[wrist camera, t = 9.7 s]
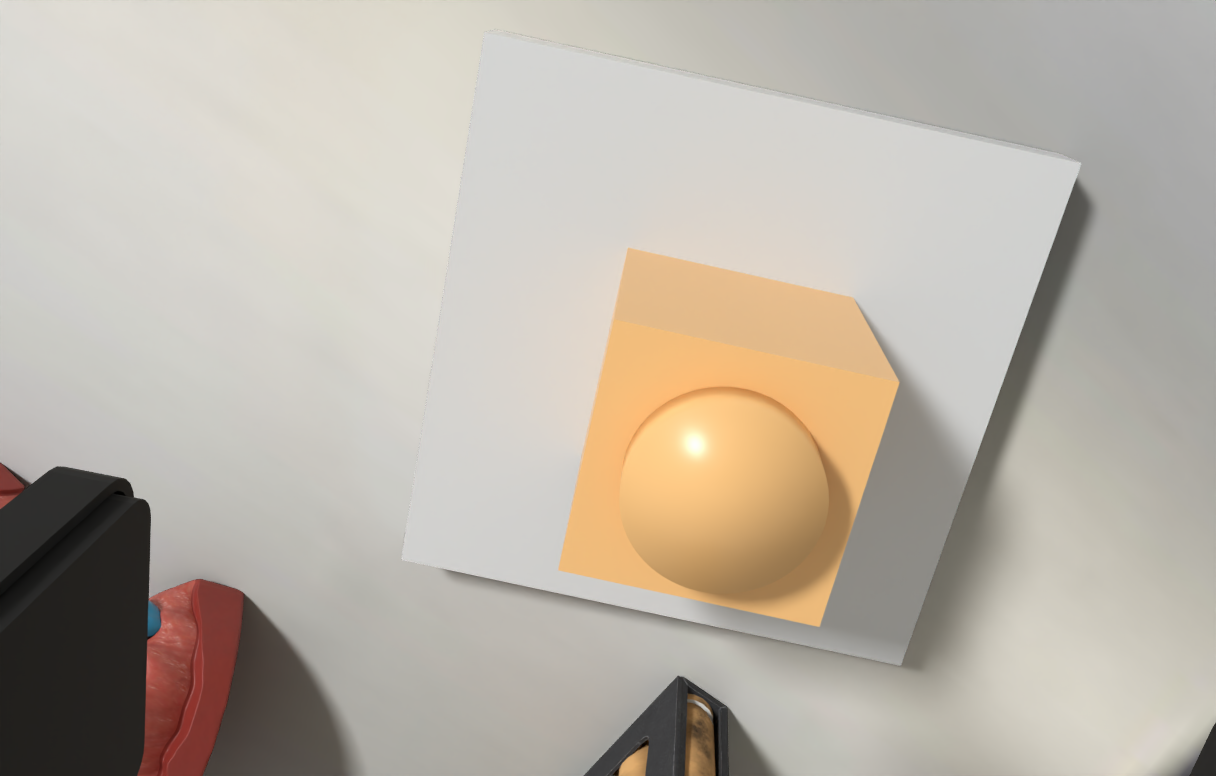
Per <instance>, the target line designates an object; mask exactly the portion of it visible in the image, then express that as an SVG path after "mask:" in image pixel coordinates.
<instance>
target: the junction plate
mask: <svg viewBox="0 0 1216 776" xmlns="http://www.w3.org/2000/svg"><path fill="white" fill-rule="evenodd" d="M1081 164H1082V163H1080V162H1078V161H1075V160H1073V159H1071V158H1069V157H1067V156H1064V155H1062V154H1060V153H1055V152H1051V151H1046V150H1041V149H1037V148H1032V147H1028V146H1023V145H1019V144H1014V143H1010V142H1005V141H1001V140H996V139H991V138H987V137H982V136H978V135H973V134H969V133H964V132H960V131H955V130H951V129H946V128H941V127H937V126H932V125H928V124H923V123H919V122H914V121H910V120H905V119H901V118H896V117H891V116H887V115H882V114H878V113H873V112H869V111H864V110H860V109H855V108H851V107H846V106H841V105H837V104H832V103H828V102H823V101H819V100H814V99H810V98H805V97H801V96H796V95H791V94H787V93H782V92H778V91H773V90H769V89H764V88H760V87H755V86H751V85H746V84H741V83H737V82H732V81H728V80H723V79H719V78H714V77H710V76H705V75H701V74H696V73H691V72H687V71H682V70H678V69H673V68H669V67H664V66H660V65H655V64H651V63H646V62H641V61H637V60H632V59H628V58H623V57H619V56H614V55H610V54H605V53H601V52H596V51H592V50H587V49H582V48H578V47H573V46H569V45H564V44H560V43H555V42H551V41H546V40H542V39H537V38H532V37H528V36H523V35H519V34H514V33H510V32H505V31H501V30H496V29H494V30H490V31H486V32H484V38H483V44H482V50H481V57H480V63H479V69H478V76H477V82H476V88H475V95H474V101H473V107H472V114H471V120H470V126H469V133H468V139H467V145H466V152H465V158H464V164H463V171H462V177H461V183H460V190H459V196H458V202H457V209H456V215H455V221H454V228H453V234H452V240H451V247H450V253H449V259H448V266H447V272H446V278H445V285H444V291H443V297H442V304H441V310H440V316H439V323H438V329H437V335H436V342H435V348H434V354H433V361H432V367H431V373H430V380H429V386H428V392H427V399H426V405H425V411H424V418H423V424H422V430H421V437H420V443H419V449H418V456H417V462H416V468H415V475H414V481H413V487H412V494H411V500H410V506H409V513H408V519H407V525H406V532H405V538H404V544H403V551H402V557H401V560H404V561H409V562H414V563H419V564H423V565H428V566H433V567H437V568H442V569H447V570H451V571H456V572H461V573H466V574H470V575H475V576H480V577H484V578H489V579H494V580H498V581H503V582H508V583H513V584H517V585H522V586H527V587H531V588H536V589H541V590H546V591H550V592H555V593H560V594H564V595H569V596H574V597H578V598H583V599H588V600H593V601H597V602H602V603H607V604H611V605H616V606H621V607H626V608H630V609H635V610H640V611H644V612H649V613H654V614H658V615H663V616H668V617H673V618H677V619H682V620H687V621H691V622H696V623H701V624H706V625H710V626H715V627H720V628H724V629H729V630H734V631H738V632H743V633H748V634H753V635H757V636H762V637H767V638H771V639H776V640H781V641H786V642H790V643H795V644H800V645H804V646H809V647H814V648H818V649H823V650H828V651H833V652H837V653H842V654H847V655H851V656H856V657H861V658H866V659H870V660H875V661H880V662H884V663H889V664H894V665H898V666H901V664H902V661H903V659H904V656H905V653H906V650H907V647H908V645H909V642H910V639H911V636H912V634H913V631H914V628H915V625H916V622H917V620H918V617H919V614H920V611H921V609H922V606H923V603H924V600H925V597H926V595H927V592H928V589H929V586H930V584H931V581H932V578H933V575H934V572H935V570H936V567H937V564H938V561H939V558H940V556H941V553H942V550H943V547H944V545H945V542H946V539H947V536H948V533H949V531H950V528H951V525H952V522H953V520H954V517H955V514H956V511H957V508H958V506H959V503H960V500H961V497H962V495H963V492H964V489H965V486H966V483H967V481H968V478H969V475H970V472H971V469H972V467H973V464H974V461H975V458H976V456H977V453H978V450H979V447H980V444H981V442H982V439H983V436H984V433H985V431H986V428H987V425H988V422H989V419H990V417H991V414H992V411H993V408H994V406H995V403H996V400H997V397H998V394H999V392H1000V389H1001V386H1002V383H1003V380H1004V378H1005V375H1006V372H1007V369H1008V367H1009V364H1010V361H1011V358H1012V355H1013V353H1014V350H1015V347H1016V344H1017V342H1018V339H1019V336H1020V333H1021V330H1022V328H1023V325H1024V322H1025V319H1026V317H1027V314H1028V311H1029V308H1030V305H1031V303H1032V300H1033V297H1034V294H1035V291H1036V289H1037V286H1038V283H1039V280H1040V278H1041V275H1042V272H1043V269H1044V266H1045V264H1046V261H1047V258H1048V255H1049V253H1050V250H1051V247H1052V244H1053V241H1054V239H1055V236H1056V233H1057V230H1058V227H1059V225H1060V222H1061V219H1062V216H1063V214H1064V211H1065V208H1066V205H1067V202H1068V200H1069V197H1070V194H1071V191H1072V189H1073V186H1074V183H1075V180H1076V177H1077V175H1078V172H1079V169H1080V166H1081ZM628 248H632V249H637V250H641V251H646V252H650V253H655V254H659V255H664V256H668V257H673V258H677V259H682V260H686V261H691V262H695V263H700V264H704V265H709V266H713V267H718V268H722V269H727V270H731V271H736V272H740V273H745V274H749V275H754V276H759V277H763V278H768V279H772V280H777V281H781V282H786V283H790V284H795V285H799V286H804V287H808V288H813V289H817V290H822V291H826V292H831V293H835V294H840V295H844V296H849V297H853V298H854V300H855V302H856V304H857V305H858V307H859V309H860V311H861V313H862V314H863V316H864V318H865V320H866V322H867V324H868V325H869V327H870V329H871V331H872V333H873V335H874V336H875V338H876V340H877V342H878V344H879V345H880V347H881V349H882V351H883V353H884V355H885V356H886V358H887V360H888V362H889V364H890V366H891V367H892V369H893V371H894V373H895V375H896V376H897V378H898V380H899V382H900V383H899V386H898V389H897V392H896V395H895V398H894V401H893V404H892V407H891V410H890V413H889V416H888V420H887V423H886V426H885V429H884V432H883V435H882V438H881V441H880V444H879V447H878V450H877V453H876V456H875V459H874V462H873V465H872V468H871V471H870V474H869V477H868V480H867V484H866V487H865V490H864V493H863V496H862V499H861V502H860V505H859V508H858V511H857V514H856V517H855V520H854V523H853V526H852V529H851V532H850V535H849V538H848V541H847V544H846V548H845V551H844V554H843V557H842V560H841V563H840V566H839V569H838V572H837V575H836V578H835V581H834V584H833V587H832V590H831V593H830V596H829V599H828V602H827V605H826V608H825V612H824V615H823V618H822V621H821V624H820V627H817V626H812V625H808V624H803V623H799V622H794V621H789V620H785V619H780V618H776V617H771V616H766V615H762V614H757V613H753V612H748V611H743V610H739V609H734V608H729V607H725V606H720V605H716V604H711V603H706V602H702V601H697V600H693V599H688V598H683V597H679V596H674V595H669V594H665V593H660V592H656V591H651V590H646V589H642V588H637V587H633V586H628V585H623V584H619V583H614V582H610V581H605V580H600V579H596V578H591V577H586V576H582V575H577V574H573V573H568V572H563V571H559V570H558V568H559V563H560V558H561V553H562V548H563V543H564V539H565V534H566V529H567V524H568V519H569V514H570V509H571V505H572V500H573V495H574V490H575V485H576V480H577V475H578V471H579V466H580V461H581V456H582V451H583V447H584V442H585V438H586V433H587V429H588V424H589V420H590V415H591V411H592V406H593V402H594V397H595V393H596V388H597V384H598V379H599V375H600V370H601V366H602V361H603V357H604V352H605V348H606V343H607V339H608V334H609V330H610V325H611V321H612V316H613V312H614V307H615V303H616V298H617V294H618V289H619V285H620V280H621V276H622V271H623V267H624V262H625V258H626V253H627V249H628Z"/></svg>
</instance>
